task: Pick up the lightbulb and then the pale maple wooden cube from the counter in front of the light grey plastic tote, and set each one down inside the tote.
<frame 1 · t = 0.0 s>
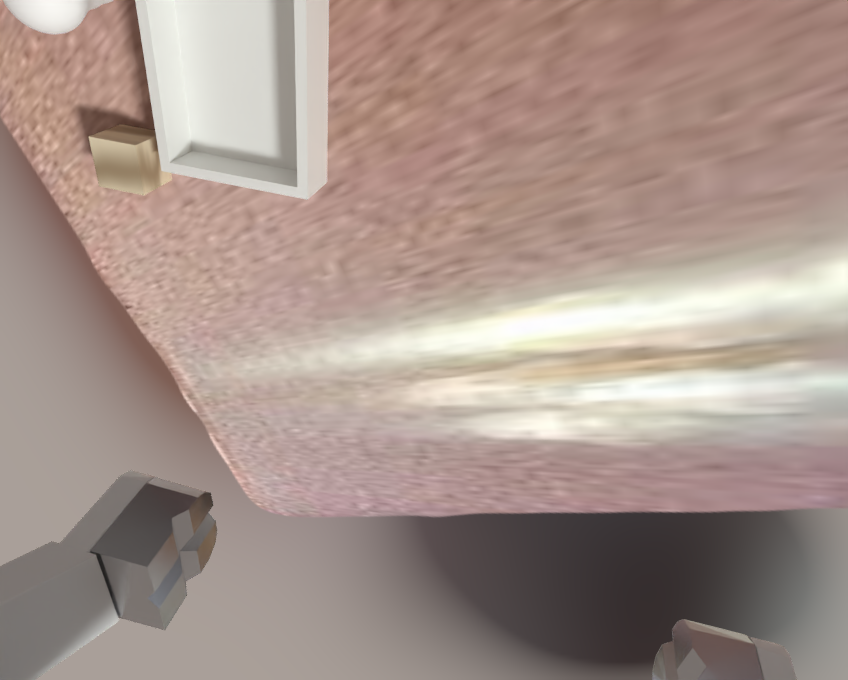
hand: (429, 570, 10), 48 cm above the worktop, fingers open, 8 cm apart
maple cube: (147, 152, 62), on the worktop
tote: (251, 68, 54), on the worktop
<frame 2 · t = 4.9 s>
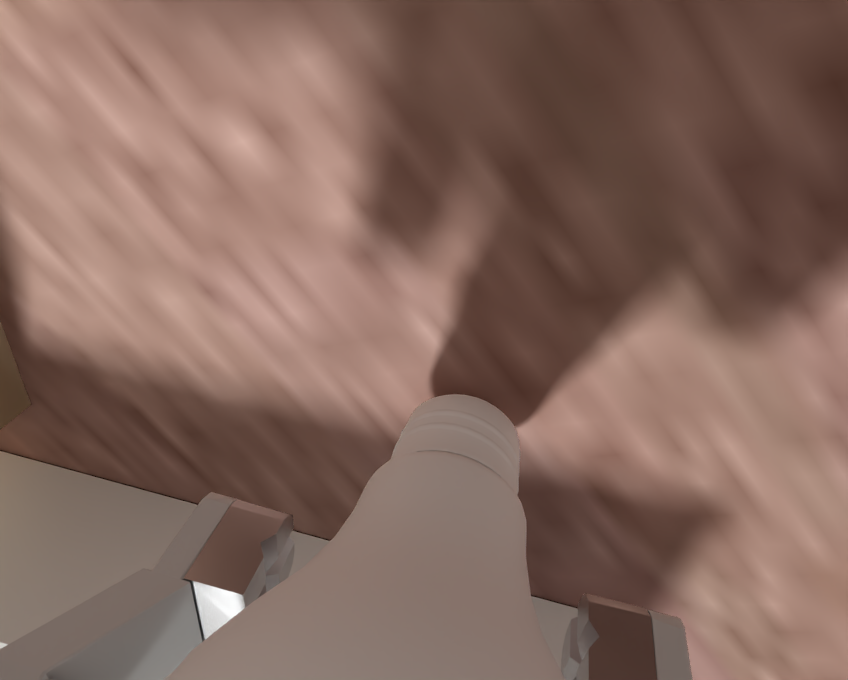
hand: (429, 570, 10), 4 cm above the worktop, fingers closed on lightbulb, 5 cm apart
lightbulb: (469, 410, 14), on the worktop, touching gripper
tote: (283, 653, 22), on the worktop
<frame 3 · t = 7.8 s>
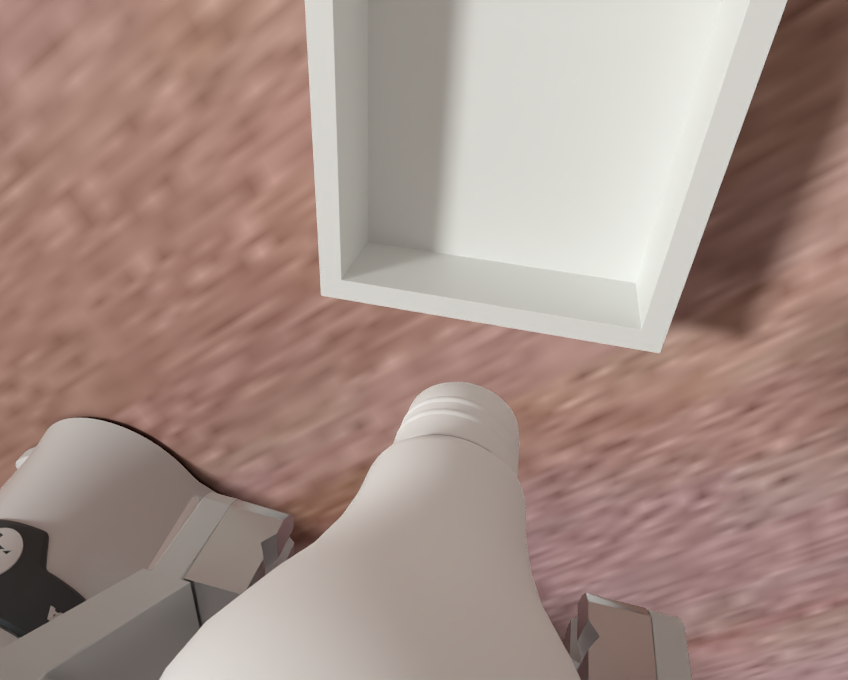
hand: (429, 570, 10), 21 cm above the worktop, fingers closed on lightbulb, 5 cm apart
lightbulb: (469, 398, 14), point 16 cm above the worktop, touching gripper
tote: (526, 67, 24), on the worktop
when the fingers open (7 cm above the worktop, at t = 11.2 s): lightbulb moves 2 cm, resting on tote.
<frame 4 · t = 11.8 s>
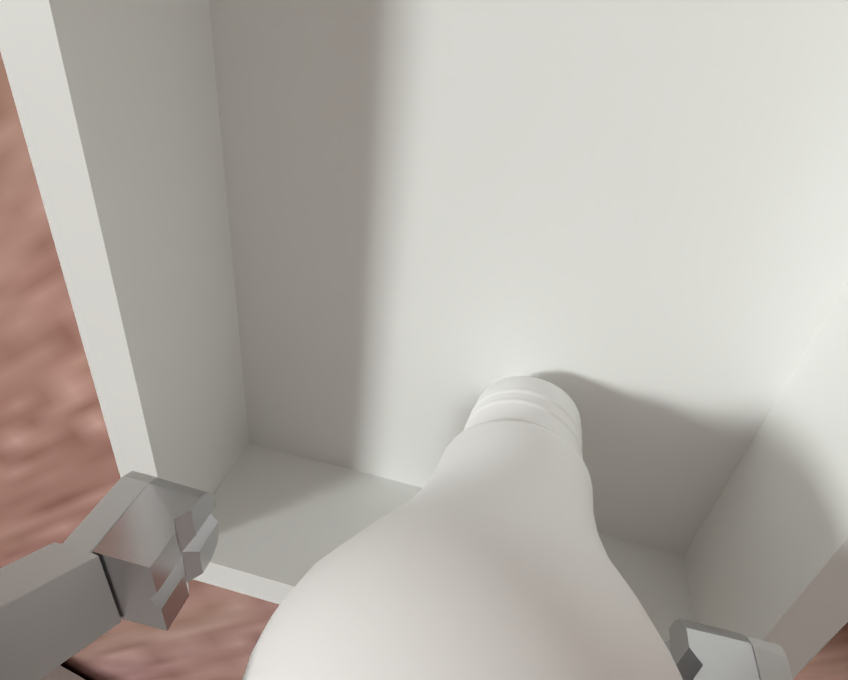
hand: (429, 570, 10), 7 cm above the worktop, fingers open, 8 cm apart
lightbulb: (531, 396, 15), point 1 cm above the worktop, touching gripper, tote
tote: (516, 210, 13), on the worktop
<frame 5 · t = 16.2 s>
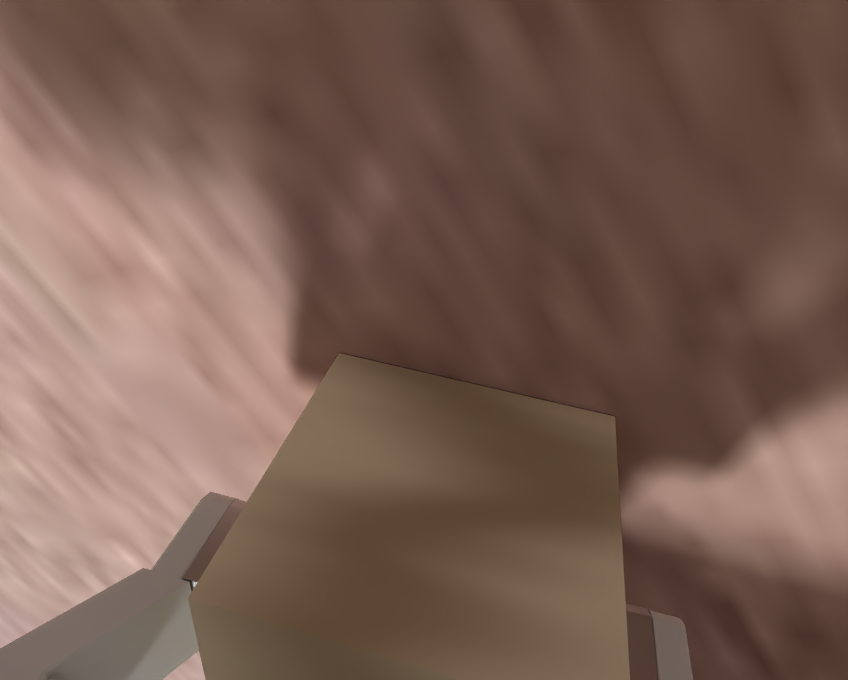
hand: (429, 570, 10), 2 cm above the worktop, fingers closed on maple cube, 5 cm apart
maple cube: (453, 479, 12), on the worktop, touching gripper
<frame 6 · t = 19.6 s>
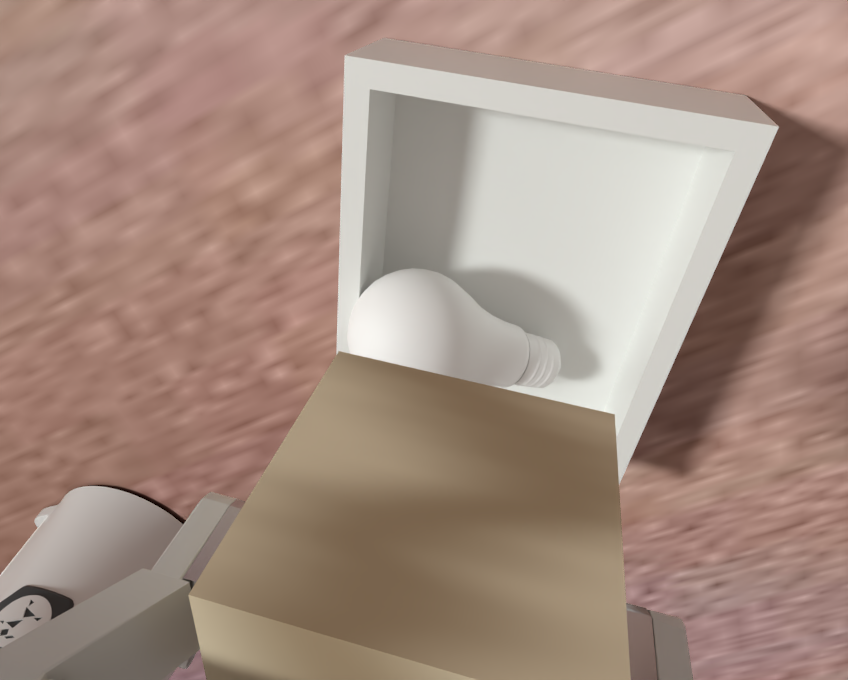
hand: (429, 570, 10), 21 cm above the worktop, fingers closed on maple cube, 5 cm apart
maple cube: (453, 477, 12), point 19 cm above the worktop, touching gripper
lightbulb: (559, 367, 30), point 2 cm above the worktop, touching tote
tote: (513, 267, 30), on the worktop
when the fingers open (4 cm above the worktop, at t = 23.3 s): maple cube stays where it is, resting on tote.
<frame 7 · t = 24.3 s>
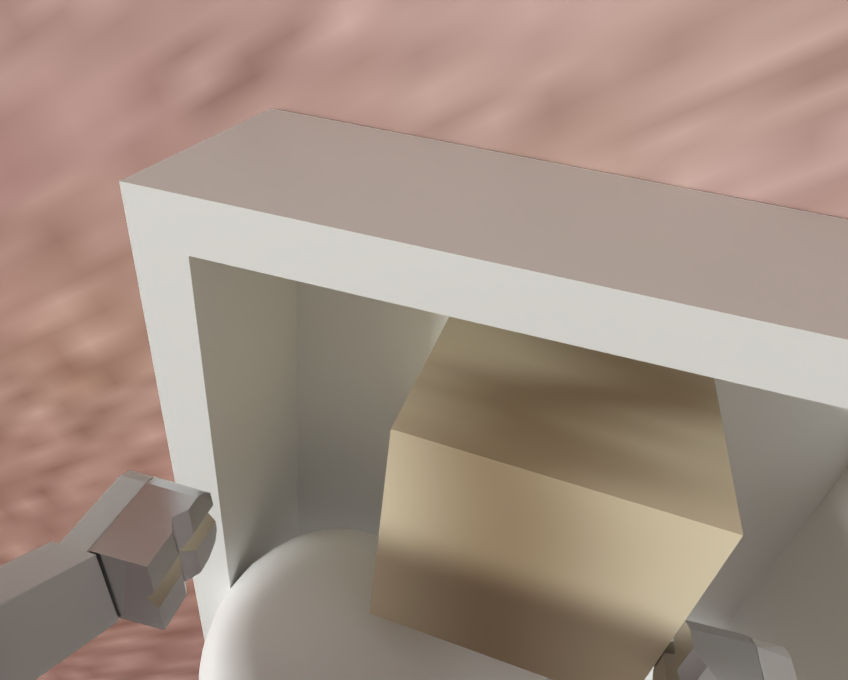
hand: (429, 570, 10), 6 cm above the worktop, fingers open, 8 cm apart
maple cube: (554, 399, 14), point 1 cm above the worktop, touching gripper, tote
lightbulb: (598, 661, 17), point 2 cm above the worktop, touching tote
tote: (519, 490, 17), on the worktop
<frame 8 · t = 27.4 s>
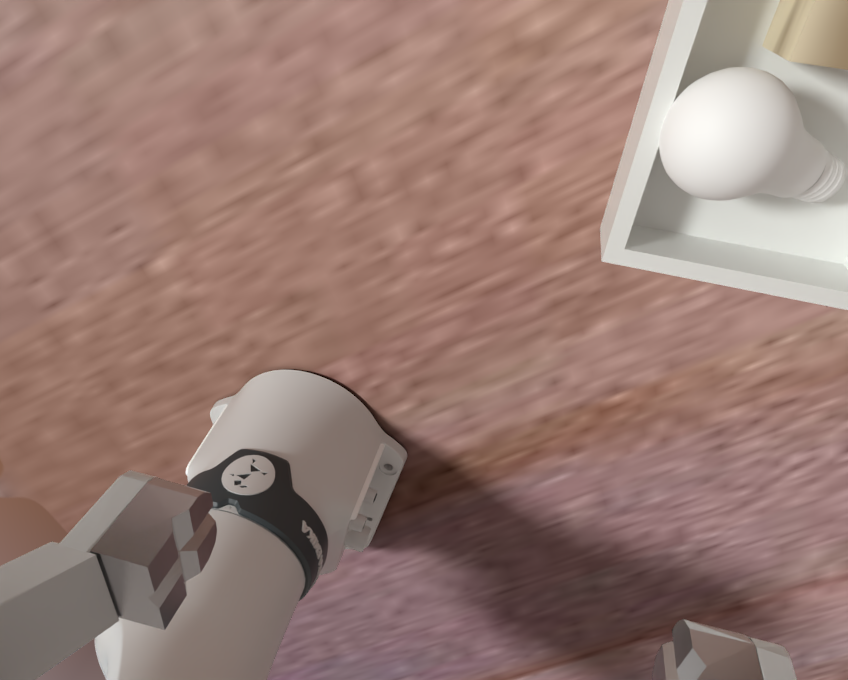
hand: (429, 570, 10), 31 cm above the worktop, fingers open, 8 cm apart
lightbulb: (833, 185, 32), point 2 cm above the worktop, touching tote
tote: (789, 91, 31), on the worktop
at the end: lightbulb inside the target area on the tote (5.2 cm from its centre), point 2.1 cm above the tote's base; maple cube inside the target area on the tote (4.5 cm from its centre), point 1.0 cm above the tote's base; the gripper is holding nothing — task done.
